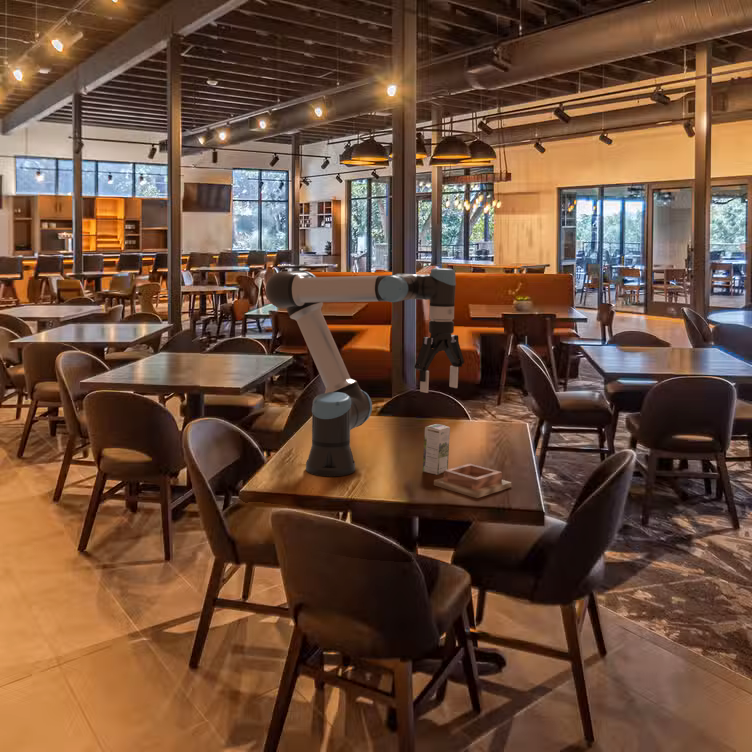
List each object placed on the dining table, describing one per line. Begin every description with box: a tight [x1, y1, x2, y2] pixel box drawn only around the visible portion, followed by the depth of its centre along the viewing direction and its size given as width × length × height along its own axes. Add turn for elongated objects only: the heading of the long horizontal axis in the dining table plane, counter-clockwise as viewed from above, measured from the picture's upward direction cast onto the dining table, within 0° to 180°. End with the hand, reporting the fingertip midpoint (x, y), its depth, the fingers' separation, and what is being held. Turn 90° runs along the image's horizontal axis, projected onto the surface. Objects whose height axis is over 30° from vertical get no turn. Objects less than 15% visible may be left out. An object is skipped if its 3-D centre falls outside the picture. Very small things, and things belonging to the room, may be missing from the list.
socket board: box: [433, 463, 512, 499], centre depth 233 cm, size 16×16×4 cm
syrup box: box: [422, 423, 451, 476], centre depth 246 cm, size 6×6×14 cm
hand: (439, 389), depth 243 cm, fingers open, 13 cm apart
